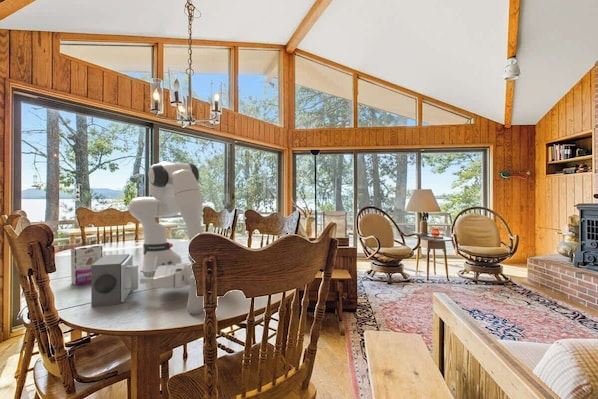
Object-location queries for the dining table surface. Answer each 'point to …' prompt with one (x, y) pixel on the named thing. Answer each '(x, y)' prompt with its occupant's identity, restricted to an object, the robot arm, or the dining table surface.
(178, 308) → the dining table surface
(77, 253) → the candy bar box
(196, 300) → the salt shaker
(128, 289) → the door
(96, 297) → the housing
